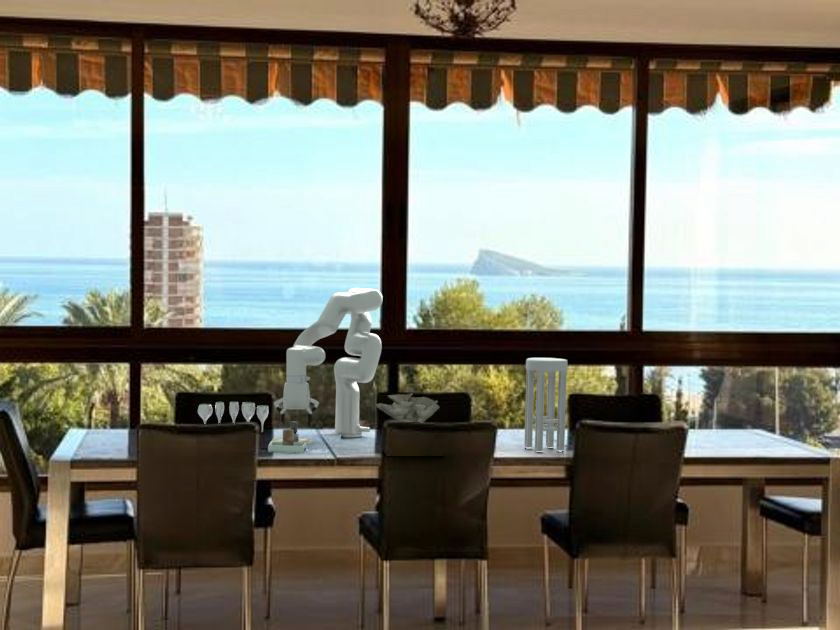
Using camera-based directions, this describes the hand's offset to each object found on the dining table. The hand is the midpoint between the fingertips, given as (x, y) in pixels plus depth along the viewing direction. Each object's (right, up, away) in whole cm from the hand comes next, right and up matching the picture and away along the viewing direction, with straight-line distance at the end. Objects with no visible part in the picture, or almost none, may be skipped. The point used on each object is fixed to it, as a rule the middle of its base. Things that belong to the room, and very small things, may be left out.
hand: (296, 423), depth 477 cm
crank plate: (-1, -8, -6) cm, 10 cm away
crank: (-1, -6, -5) cm, 7 cm away
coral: (+43, -9, -17) cm, 47 cm away
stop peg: (-1, -8, -20) cm, 21 cm away
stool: (+95, -10, -3) cm, 96 cm away
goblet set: (-27, -6, +17) cm, 33 cm away
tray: (-1, -8, -20) cm, 21 cm away
